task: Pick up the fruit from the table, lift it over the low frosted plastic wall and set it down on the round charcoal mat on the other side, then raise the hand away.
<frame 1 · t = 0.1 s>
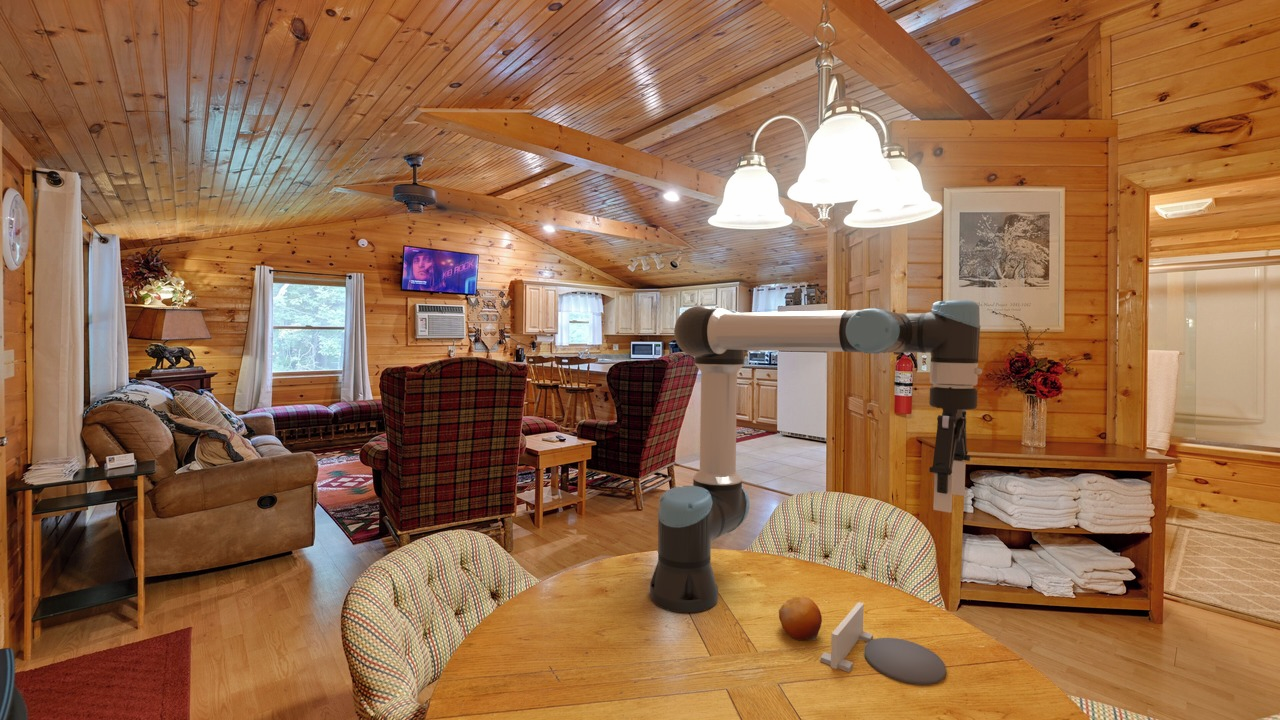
hand: (949, 502, 98), 28 cm above the table, tool pointing down, fingers open, 13 cm apart
fruit: (799, 635, 105), on the table
wall: (847, 649, 100), on the table
mat: (903, 662, 96), on the table
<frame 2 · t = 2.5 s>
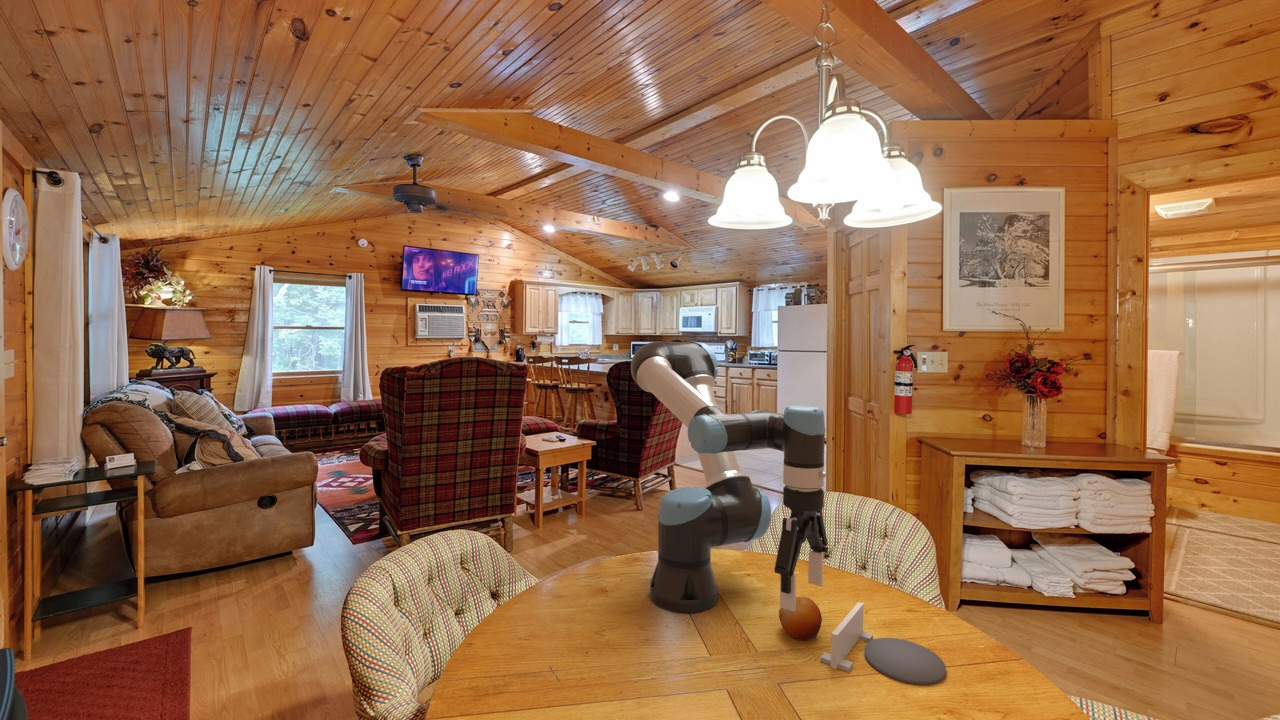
hand: (802, 595, 104), 8 cm above the table, tool pointing down, fingers open, 13 cm apart
nothing on the table moved.
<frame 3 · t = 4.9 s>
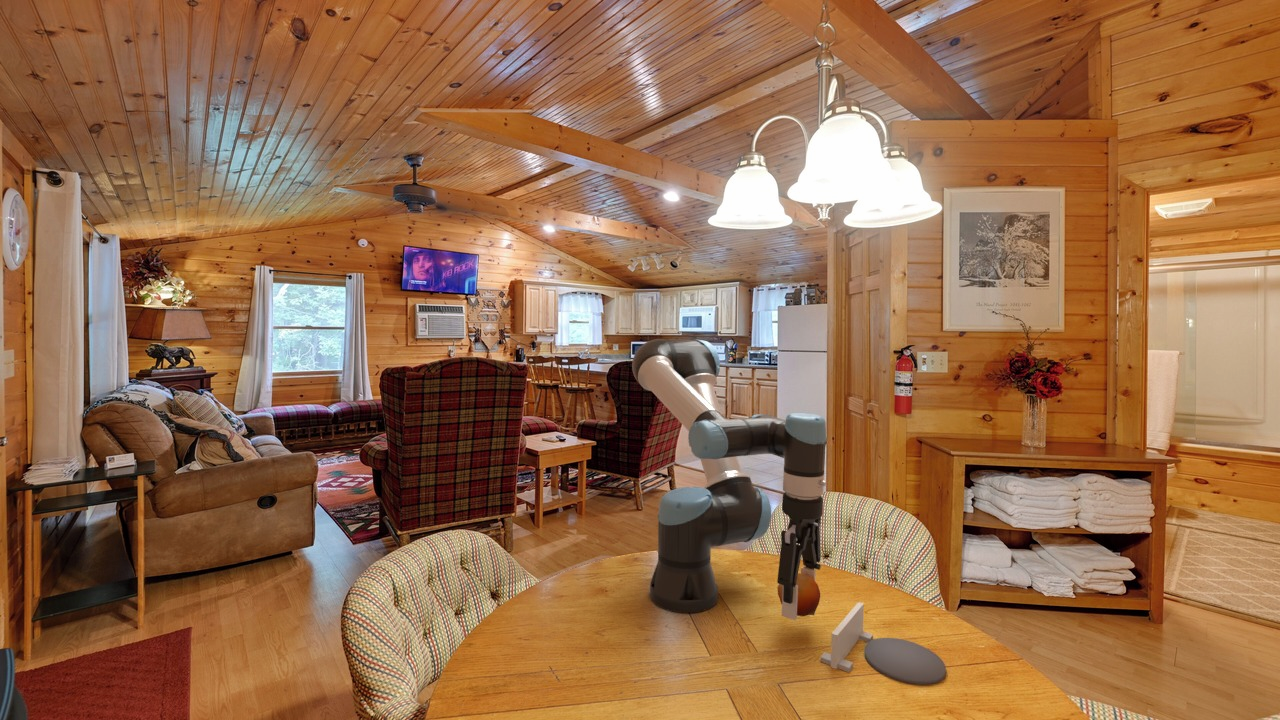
hand: (798, 608, 105), 5 cm above the table, tool pointing down, fingers closed on fruit, 8 cm apart
fruit: (797, 610, 106), point 4 cm above the table, touching gripper
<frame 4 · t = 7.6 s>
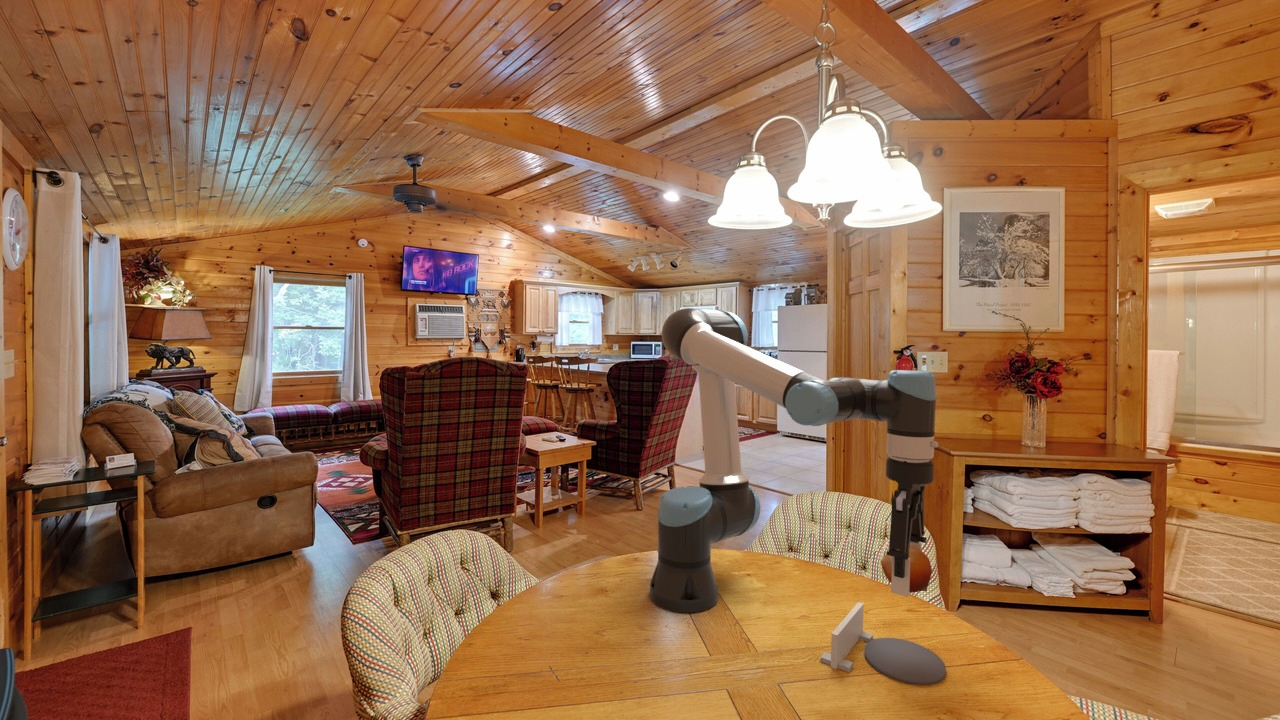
hand: (906, 585, 96), 14 cm above the table, tool pointing down, fingers closed on fruit, 8 cm apart
fruit: (905, 587, 96), point 13 cm above the table, touching gripper
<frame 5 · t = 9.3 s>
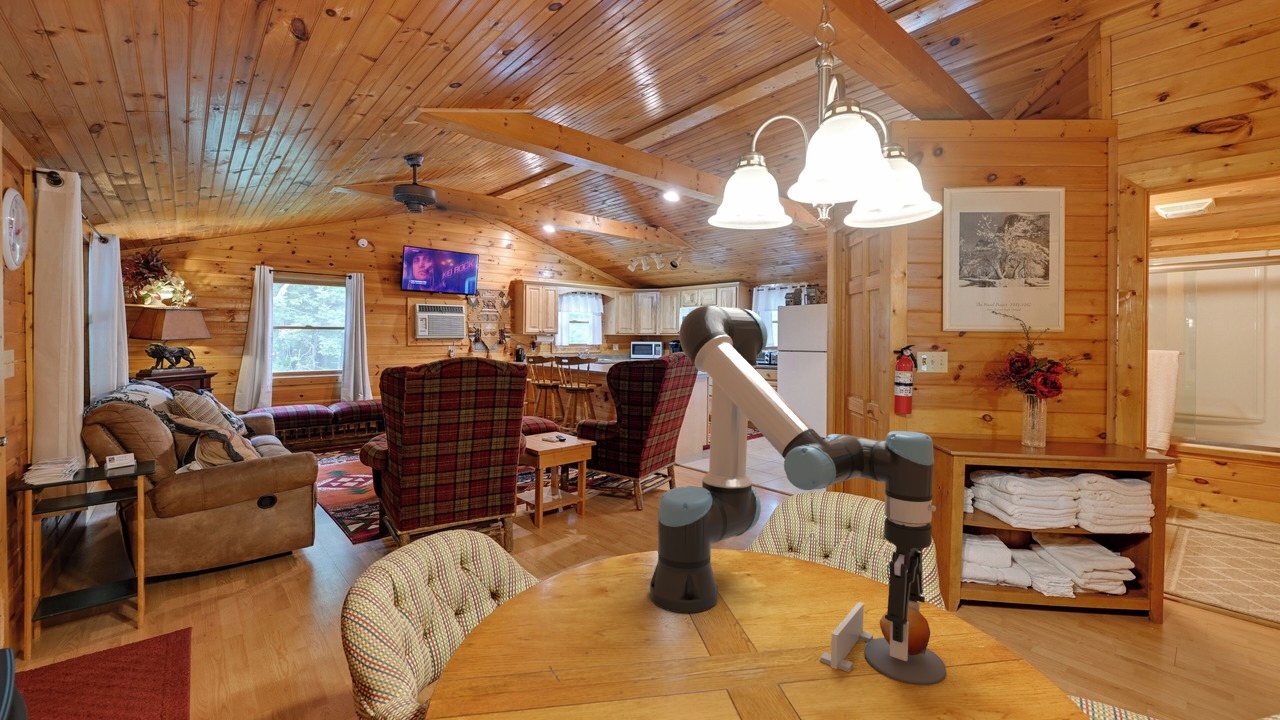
hand: (904, 646, 96), 3 cm above the table, tool pointing down, fingers closed on fruit, 8 cm apart
fruit: (904, 648, 96), point 2 cm above the table, touching gripper
when the fingers open (1 cm above the table, at t = 10.6 s): fruit stays where it is, resting on mat.
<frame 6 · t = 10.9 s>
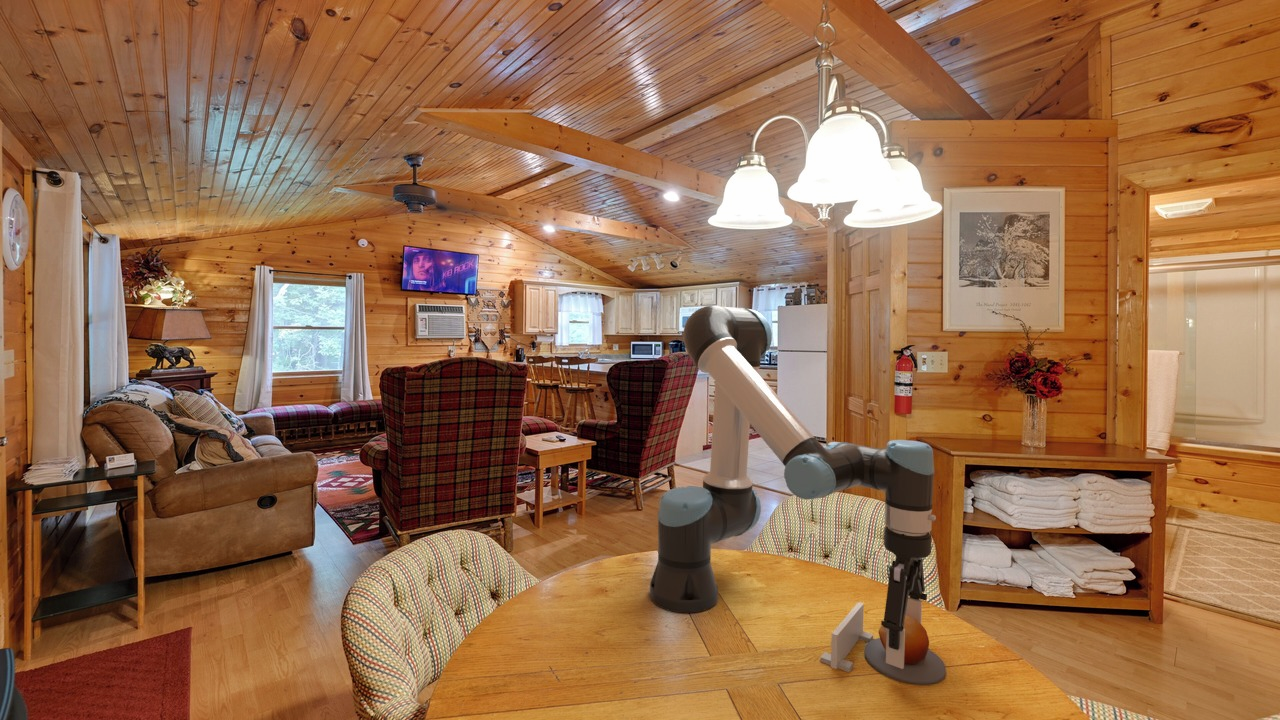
hand: (904, 648, 96), 2 cm above the table, tool pointing down, fingers open, 12 cm apart
fruit: (903, 658, 96), point 1 cm above the table, touching mat
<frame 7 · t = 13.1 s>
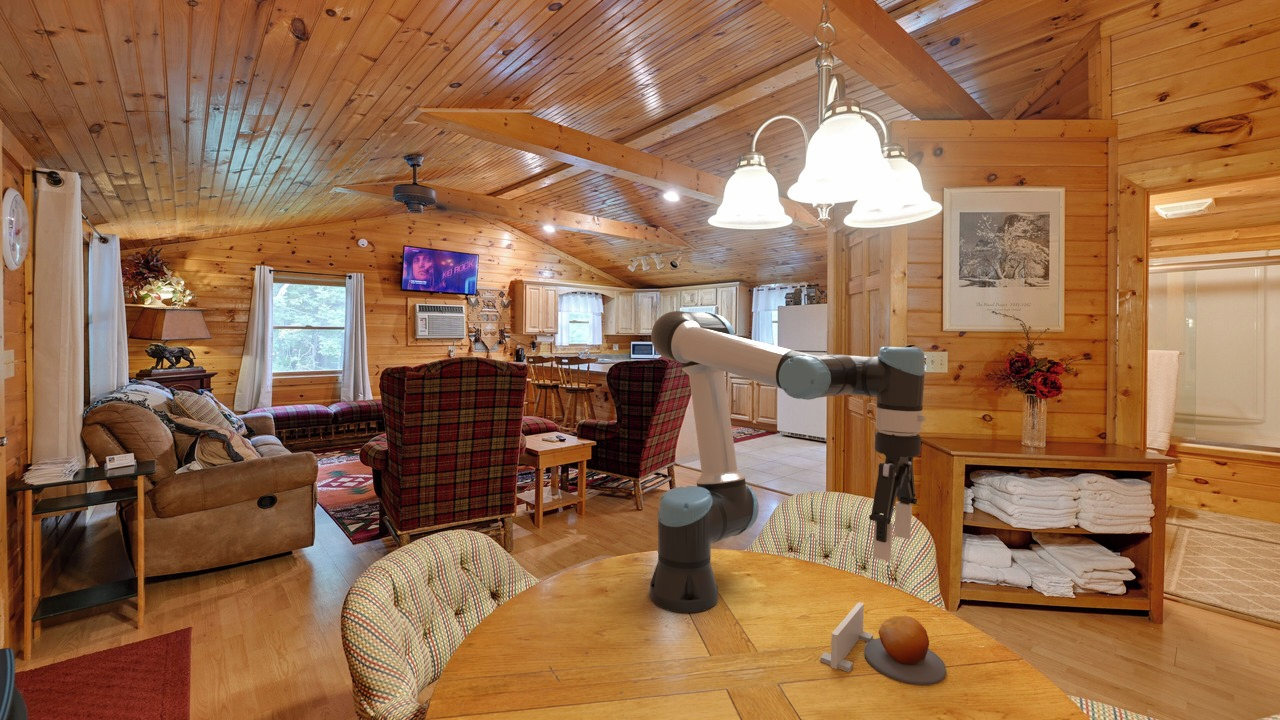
hand: (892, 547, 98), 20 cm above the table, tool pointing down, fingers open, 13 cm apart
nothing on the table moved.
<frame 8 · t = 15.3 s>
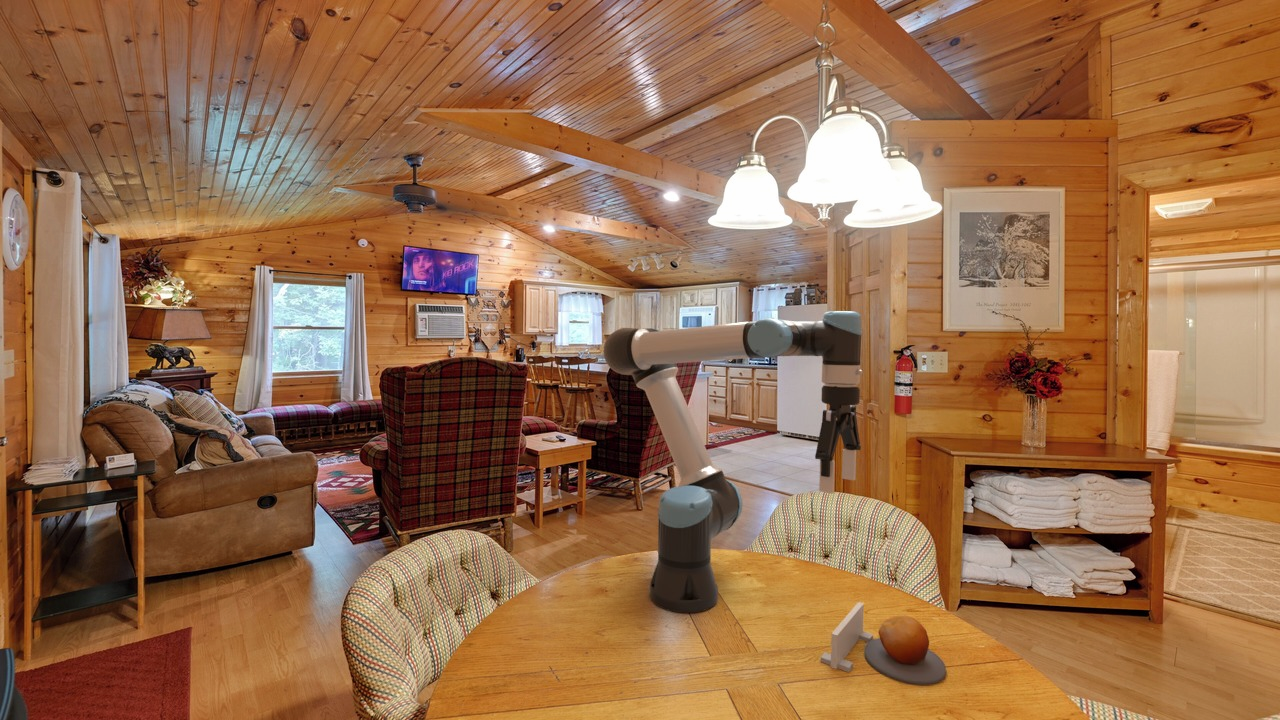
hand: (838, 485, 114), 27 cm above the table, tool pointing down, fingers open, 13 cm apart
nothing on the table moved.
at the end: fruit inside the target area on the mat (0.3 cm from its centre), point 0.6 cm above the mat's base; the gripper is holding nothing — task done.
